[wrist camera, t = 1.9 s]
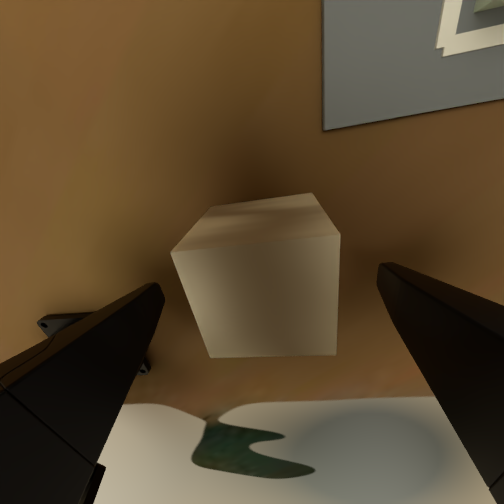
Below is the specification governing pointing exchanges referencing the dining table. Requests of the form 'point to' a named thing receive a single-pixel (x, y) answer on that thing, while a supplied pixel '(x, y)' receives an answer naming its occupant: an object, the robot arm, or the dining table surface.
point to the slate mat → (407, 58)
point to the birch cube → (263, 278)
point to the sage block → (487, 4)
